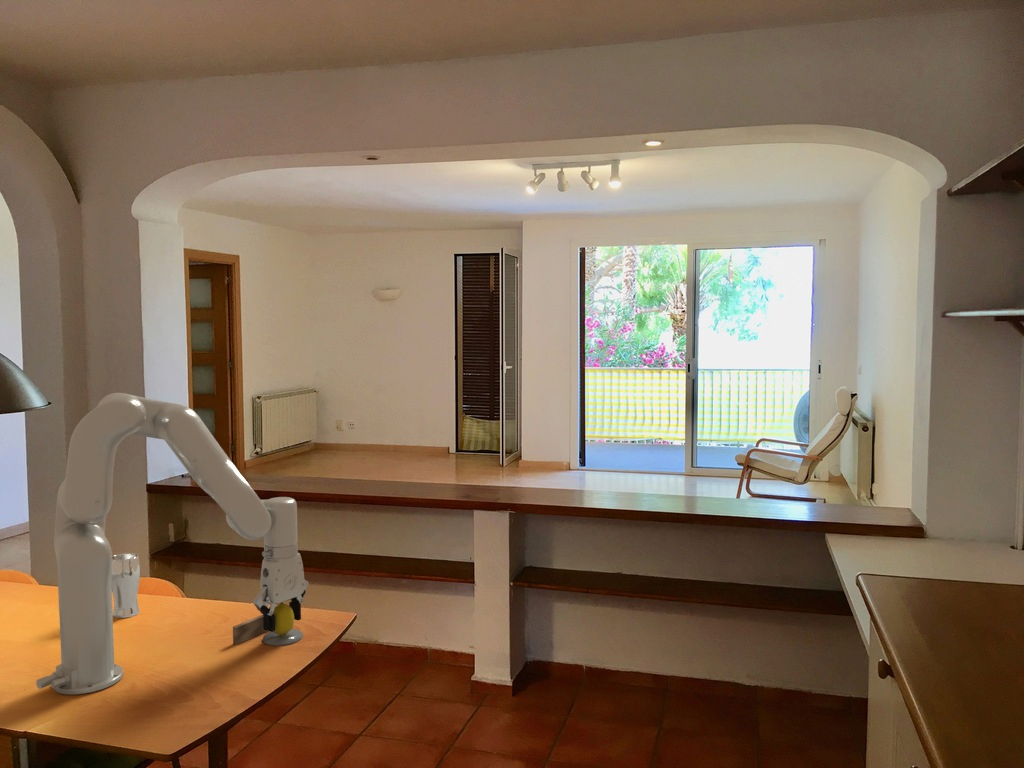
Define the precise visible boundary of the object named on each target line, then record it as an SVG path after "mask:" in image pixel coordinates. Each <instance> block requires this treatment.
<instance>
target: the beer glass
mask: <svg viewBox="0 0 1024 768" xmlns="http://www.w3.org/2000/svg"><path fill="white" fill-rule="evenodd" d="M140 577H141V567H140V558H139V554H138V553H135V552H134V553H133V552H124V553H119V554H115V555H112V595H113V596H112V598H113V609H112V614H113V618H116V619H128V618H132V617H135V616H137V615H139V613H140V607H139V604H138V593H139V588H140V587H139V585H140Z"/></svg>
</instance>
